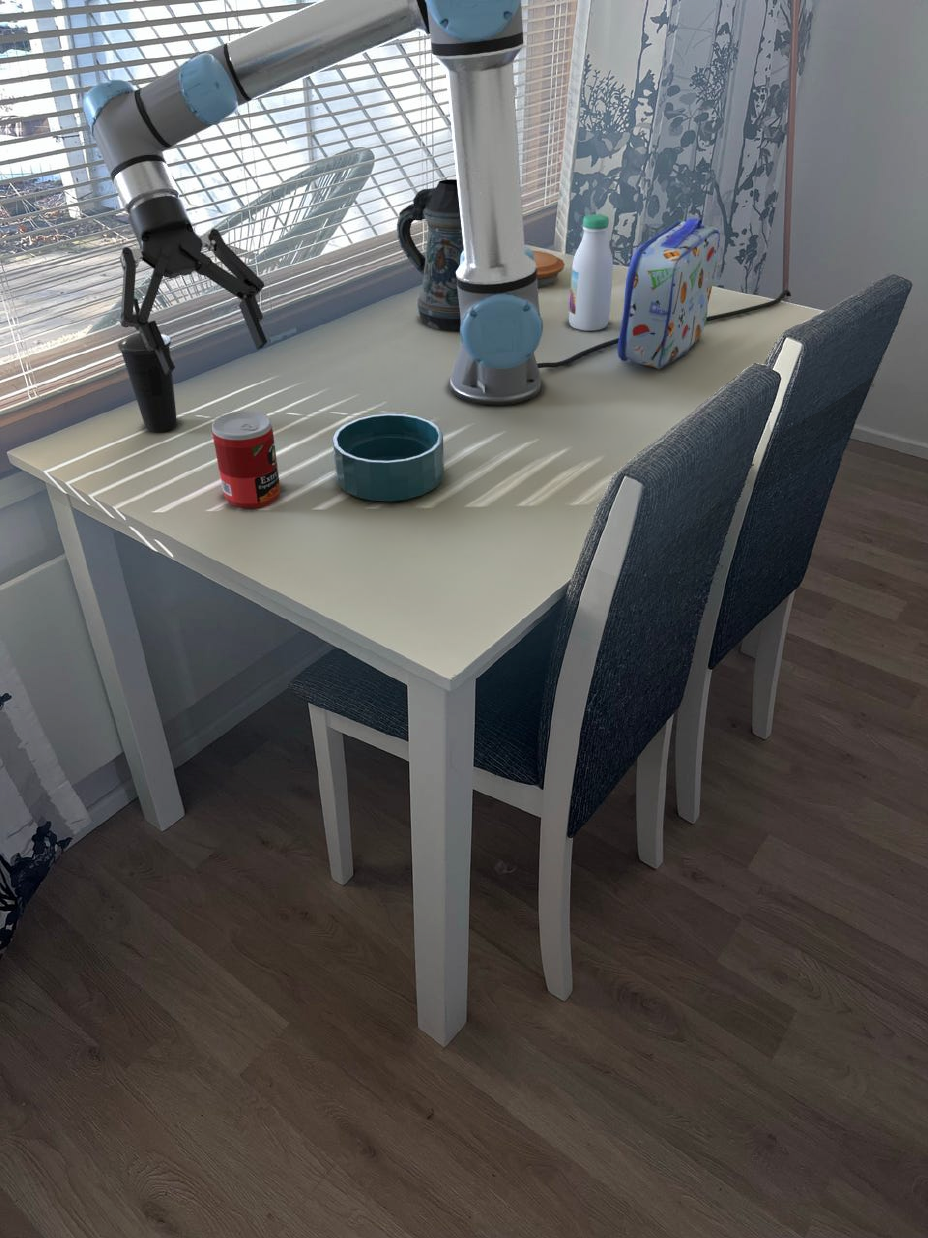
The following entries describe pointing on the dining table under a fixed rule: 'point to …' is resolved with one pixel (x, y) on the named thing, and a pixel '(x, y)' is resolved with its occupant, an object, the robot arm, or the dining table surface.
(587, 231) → the milk bottle
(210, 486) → the dining table surface
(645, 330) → the lunch box
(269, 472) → the canned food
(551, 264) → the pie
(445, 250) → the beer stein
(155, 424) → the drinking cup
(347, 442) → the teal pet bowl
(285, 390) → the dining table surface
